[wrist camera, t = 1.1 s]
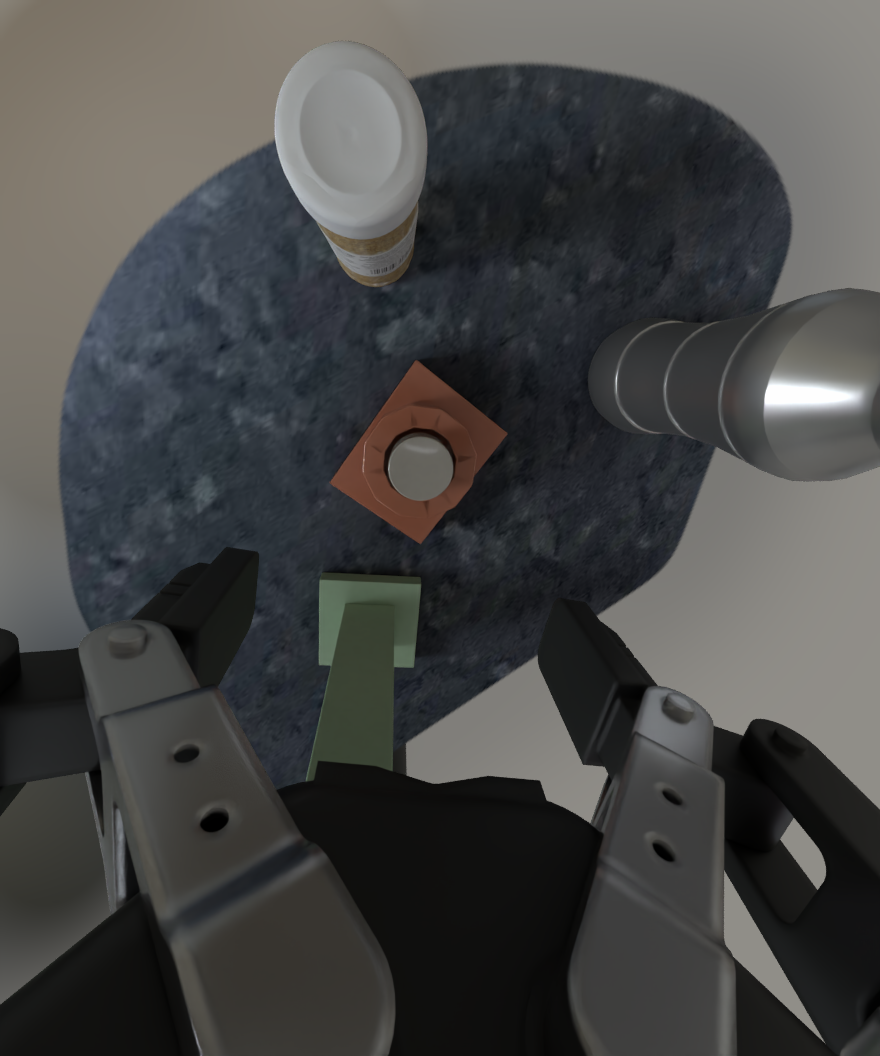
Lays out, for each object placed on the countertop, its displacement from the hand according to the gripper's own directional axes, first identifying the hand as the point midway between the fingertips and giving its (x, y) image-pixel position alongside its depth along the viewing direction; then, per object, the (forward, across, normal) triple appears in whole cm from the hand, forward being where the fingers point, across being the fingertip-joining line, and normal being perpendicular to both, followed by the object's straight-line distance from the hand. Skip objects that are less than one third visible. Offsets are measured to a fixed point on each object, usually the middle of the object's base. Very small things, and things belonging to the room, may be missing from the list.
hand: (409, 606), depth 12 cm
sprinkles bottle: (+20, -4, +12) cm, 23 cm away
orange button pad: (+19, +1, +1) cm, 19 cm away
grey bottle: (+20, +13, +8) cm, 25 cm away
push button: (+16, +1, +1) cm, 16 cm away
